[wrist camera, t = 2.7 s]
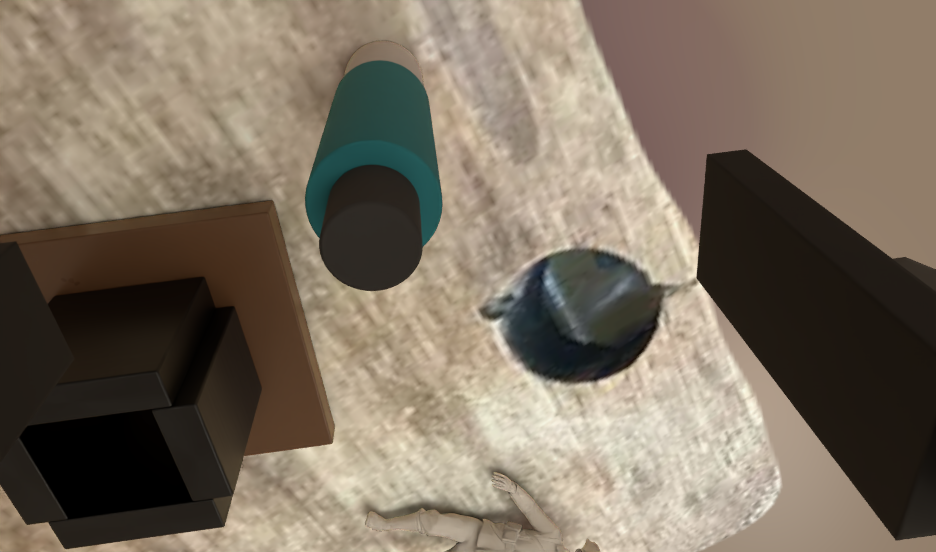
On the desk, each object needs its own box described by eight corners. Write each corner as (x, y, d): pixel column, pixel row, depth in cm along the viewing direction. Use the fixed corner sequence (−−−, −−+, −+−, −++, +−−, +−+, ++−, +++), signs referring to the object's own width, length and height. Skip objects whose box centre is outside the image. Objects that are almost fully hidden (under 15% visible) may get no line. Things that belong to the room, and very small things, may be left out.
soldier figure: (373, 453, 35) (609, 489, 32) (399, 455, 39) (608, 487, 37) (345, 617, 33) (594, 669, 30) (376, 598, 37) (595, 642, 35)
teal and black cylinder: (334, 42, 23) (275, 187, 12) (419, 32, 23) (438, 166, 12) (350, 125, 25) (310, 322, 14) (430, 115, 25) (455, 303, 14)
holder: (-38, 239, 26) (-176, 351, 20) (273, 199, 26) (234, 297, 20) (84, 461, 32) (8, 599, 26) (335, 426, 32) (319, 555, 26)
